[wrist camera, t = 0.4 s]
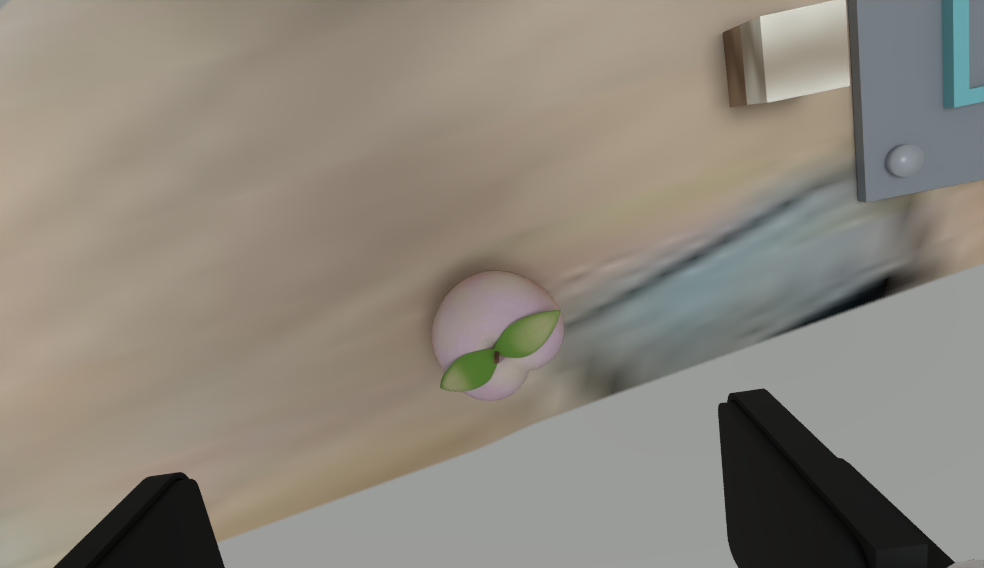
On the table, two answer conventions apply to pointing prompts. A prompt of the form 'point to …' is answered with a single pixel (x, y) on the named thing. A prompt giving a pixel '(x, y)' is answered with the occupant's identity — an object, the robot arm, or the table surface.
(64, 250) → the table surface
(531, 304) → the decorative fruit
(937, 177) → the baseplate
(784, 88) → the smooth beige block
